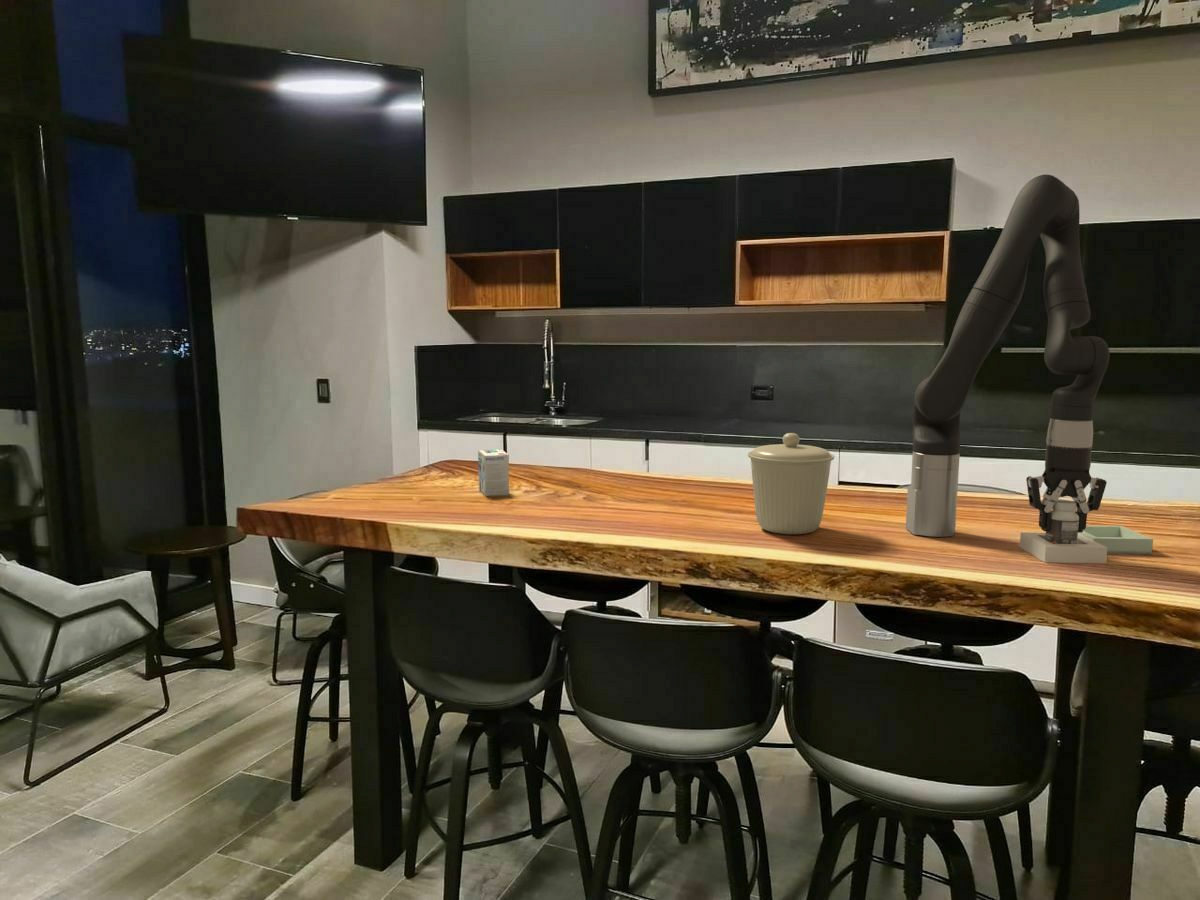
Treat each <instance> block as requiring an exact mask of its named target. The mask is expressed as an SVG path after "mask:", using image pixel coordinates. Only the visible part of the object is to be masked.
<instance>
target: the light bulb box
mask: <svg viewBox="0 0 1200 900" xmlns="http://www.w3.org/2000/svg"><path fill="white" fill-rule="evenodd" d="M477 454H478V455H477V457H478V459H477V460H478V461H477V462H478V489H479V491H480V492H481V493H482V494H483V495H484V496H485V497H487V496H488V497H489V496H491V497H492V496H509V495H510V467H509V466H510V464H509V463H510V460H509V458H510V455H509V453H507V452H506V451H505V450H503V449H501V448H499V449H482V450H481V449H479V450H478V451H477Z"/></svg>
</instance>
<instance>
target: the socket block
mask: <svg viewBox="0 0 1200 900" xmlns="http://www.w3.org/2000/svg"><path fill="white" fill-rule="evenodd" d="M1045 535H1046V532H1020V539H1019V548H1020V549H1022V550H1023V551H1026V552H1027V553H1028V554H1030V555H1032V556H1033V557H1035V558H1037V559H1038V560H1040V561H1042V562H1043V563H1059V564H1060V563H1065V564H1066V563H1067V564H1068V563H1069V564H1070V563H1072V564H1107V559H1108V556H1107V555H1108V554H1107V547H1105V546H1103V545H1101V544H1099V543H1097V542H1095V541H1093V540H1091V539H1089V538H1087V537H1085V536H1083V535H1081V534H1079V533H1078V537H1077V544H1052V543H1050V542H1048V541H1047V540H1045Z"/></svg>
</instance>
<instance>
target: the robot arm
mask: <svg viewBox="0 0 1200 900" xmlns="http://www.w3.org/2000/svg"><path fill="white" fill-rule="evenodd" d="M1012 204H1013V205H1012V206H1011V209H1010V211H1009V213H1008V216H1007V219H1006V221H1005V223H1004V226H1003V229H1002V231H1001V233H1000V235H999V238H998V239H997V241H996V243H995V245H994V247H993V249H992V252H991V253H990V255H989V257H988V259H987V261H986V263H985V265H984V267H983V269H982V271H981V273H979V274H980V275H979V276H978V278H977V280H976V281H975V283H974V284H973V287H972V288H971V290H970V292H969V294H968V296H967V298H966V300H965V302H964V303H963V305H962V307H961V309H960V312H959V315H958V317H957V319H956V321H955V325H954V326H953V330H952V333H951V337H950V340H949V343H948V346H947V348H946V349H945V351H944V353H943V355H942V357H941V359H940V360H939V361H938V363H937V365H936V367H935V368H934V370H933V371H932V373H931V374H930V375H929V377H926V378H925V379H923V380H922V381H921V382H920V383H919V384H918V386H917V387H916V389H915V393H914V400H913V419H912V422H913V423H912V424H913V425H912V458H911V459H912V460H911V461H912V462H911V478H910V479H911V480H910V485H909V484H908V486H907V496H906V497H907V499H906V517H905V529H906V530H907V531H908V532H910V533H911V534H912V535H914V536H915V535H916V536H924V537H932V538H933V537H934V538H936V537H937V538H938V537H939V538H946V537H952V536H954V535H955V534H956V525H957V523H956V522H957V521H956V520H957V507H958V506H957V504H958V490H959V489H958V488H959V473H960V472H959V470H960V457H961V455H960V454H961V453H960V452H961V435H960V434H961V431H960V427H961V410H963V408H964V404H965V403H966V400H967V398H968V395H969V393H970V390H971V387H972V386H973V384H974V380H975V378H976V376H977V374H978V372H979V371H980V368H981V366H982V364H983V362H984V361H985V359H986V358H987V357H988V356H989V354H990V352H991V350H992V349H993V348H994V347H995V345H996V343H997V342H998V341H999V339H1000V337H1001V335H1002V334H1003V333H1004V330H1005V329H1006V328H1007V326H1008V324H1009V323H1010V321H1011V319H1012V317H1013V315H1014V314H1015V312H1016V310H1017V308H1018V306H1019V305H1020V302H1021V300H1022V297H1023V295H1024V291H1025V286H1026V281H1027V275H1028V268H1029V262H1030V257H1031V254H1032V252H1033V249H1034V248H1035V245H1036V243H1037V241H1038V239H1039V238H1040V239H1041V242H1042V245H1043V248H1044V249H1043V250H1044V251H1045V253H1044V254H1045V269H1044V270H1045V271H1044V275H1043V285H1042V286H1043V287H1042V288H1043V298H1044V304H1045V309H1046V315H1047V320H1048V321H1047V328H1046V329H1047V331H1046V340H1045V346H1044V352H1043V358H1044V362H1045V366H1046V367H1047V368H1048V369H1049V371H1051V372H1052V373H1053V374H1055V375H1076V378H1075V380H1074V381H1072V384H1070V385H1067V386H1063V387H1057V388H1056V389H1055V390H1054V391H1053V392H1052V395H1051V405H1050V415H1049V416H1050V417H1049V418H1050V419H1049V423H1048V427H1047V432H1046V433H1047V434H1046V435H1047V436H1046V437H1045V439H1046V440H1045V442H1046V445H1045V446H1046V448H1045V460H1044V461H1045V462H1044V471H1043V473H1042V475H1040V476H1027V477H1026V481H1025V482H1026V487H1027V488H1026V489H1027V495H1028V503H1029V505H1030V506H1031V507H1032V508H1034V509H1036V510H1038V511H1039V515H1038V516H1039V517H1038V527H1039V528H1041V530H1042V531H1043V532H1044V533H1046V532H1049V531H1050V524H1051V513H1050V511H1052V510H1053V508H1052V507H1053V505H1054V503H1056V502H1057V501H1058V499H1060V498H1064V497H1070V498H1071V500H1072V501H1074V502H1076V510H1074V513H1076V514H1078V516H1079V526H1078V532H1083V529H1085V528H1086V525H1087V521H1088V520H1087V519H1088V513H1090V512H1092V511H1098V510H1099V509H1100V507H1101V504H1102V499H1103V496H1104V494H1105V490H1106V487H1107V484H1108V483H1107V480H1105V479H1103V478H1100V477H1092V476H1091V474H1090V469H1091V463H1092V450H1093V440H1094V425H1093V424H1094V421H1093V420H1094V413H1095V412H1094V411H1095V402H1096V401H1095V400H1096V398H1097V397H1096V396H1097V394H1098V391H1099V390H1100V386H1101V384H1102V381H1103V378H1104V376H1105V374H1106V372H1107V368H1108V366H1109V362H1110V357H1111V355H1110V349H1109V346H1108V343H1107V342H1106V341H1105V340H1104V339H1103V338H1102V337H1099V336H1093V335H1091V336H1090V335H1087V336H1086V335H1085V336H1084V335H1083V336H1081V335H1079V336H1078V335H1077V336H1073V335H1071V330H1074V329H1078V328H1080V327H1083V326H1085V325H1086V324H1087V323H1089V321H1090V320H1091V307H1090V303H1089V297H1088V291H1087V286H1086V283H1085V278H1084V273H1083V266H1082V258H1081V245H1080V243H1081V242H1080V219H1081V218H1080V202H1079V198H1078V195H1077V194H1076V193H1075V192H1074V190H1073V189H1072V188H1070V187H1069V186H1068V185H1066V183H1064V181H1062V180H1061V179H1059V178H1058V177H1056V176H1055V175H1052V174H1041V175H1037V176H1035V177H1033V178H1032V179H1030V180H1028V181H1027V183H1025V185H1024V186H1023V187H1022V188H1021V190H1019V193H1018V194H1017V196H1016V197H1015V199H1014V202H1013V203H1012ZM1043 483H1044V485H1045V486H1046V489H1045V491H1044V493H1043V494H1042V495H1043V496H1042V500H1041V493H1040V492H1041V491H1040V488H1041V487H1042V484H1043ZM1088 485H1089V488H1090V492H1089V494H1088V498H1087V496H1086V494H1085V491H1084V490H1085V489H1086V488H1087V486H1088Z"/></svg>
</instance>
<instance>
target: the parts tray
mask: <svg viewBox="0 0 1200 900" xmlns="http://www.w3.org/2000/svg"><path fill="white" fill-rule="evenodd" d="M1078 533H1079V534H1081V535H1083V536H1085V537H1087V538H1089V539H1091V540H1093V541H1095V542H1097V543H1099V544H1101V545H1103V546H1105V547H1107V555H1108V554H1110V555H1113V554H1114V555H1115V554H1116V555H1153V554H1152V553H1153V548H1154V547H1153V546H1154V545H1153V544H1154V539H1153V538H1152V537H1150V536H1147V535H1144V534H1142V533H1140V532H1137V531H1135V530H1133V529H1130V528H1128V527H1125V526H1123V525H1094V524H1092V525H1090V524H1086V528H1085V529H1083V532H1078Z"/></svg>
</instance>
